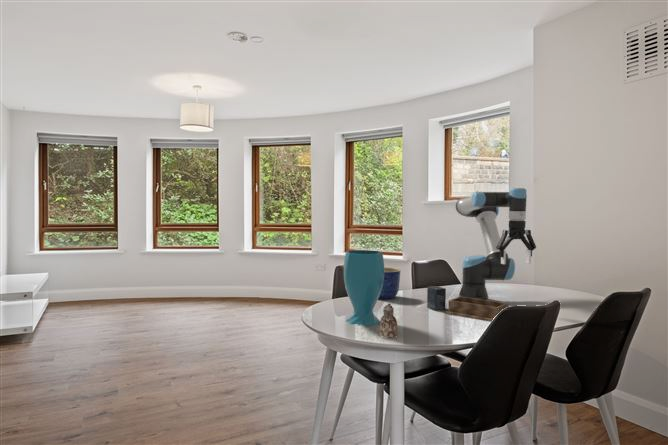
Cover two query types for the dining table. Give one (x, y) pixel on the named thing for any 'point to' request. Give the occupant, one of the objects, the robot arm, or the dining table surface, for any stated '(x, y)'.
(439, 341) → the dining table surface
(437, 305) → the box
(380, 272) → the vase
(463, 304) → the tray
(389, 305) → the figurine
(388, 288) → the planter
